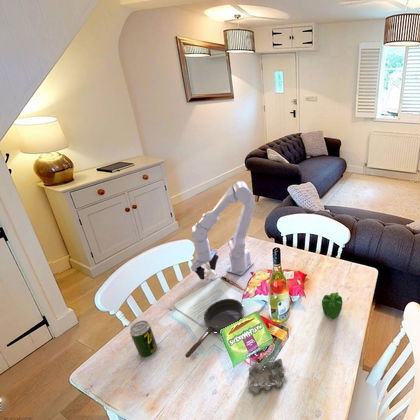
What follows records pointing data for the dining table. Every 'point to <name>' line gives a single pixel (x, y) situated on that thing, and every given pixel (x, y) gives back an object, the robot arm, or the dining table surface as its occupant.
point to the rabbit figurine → (209, 272)
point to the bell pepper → (332, 305)
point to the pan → (223, 314)
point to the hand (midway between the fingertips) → (207, 274)
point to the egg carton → (266, 375)
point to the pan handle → (199, 342)
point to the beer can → (143, 339)
